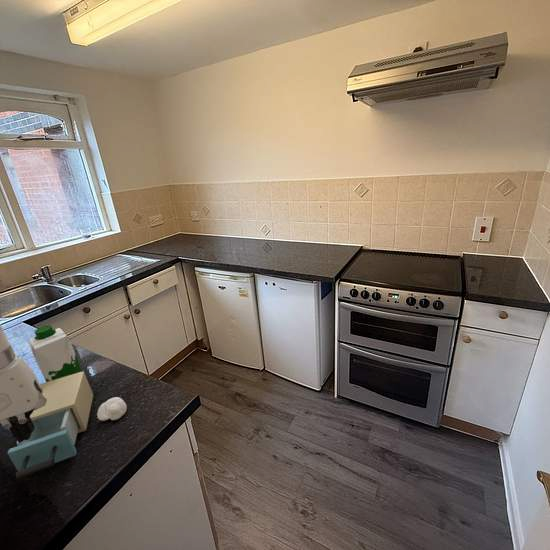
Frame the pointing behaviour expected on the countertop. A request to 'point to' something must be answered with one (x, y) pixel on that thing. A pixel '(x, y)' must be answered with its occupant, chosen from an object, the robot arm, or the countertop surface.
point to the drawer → (46, 443)
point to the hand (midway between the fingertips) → (26, 435)
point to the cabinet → (67, 398)
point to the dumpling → (112, 409)
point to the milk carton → (54, 353)
